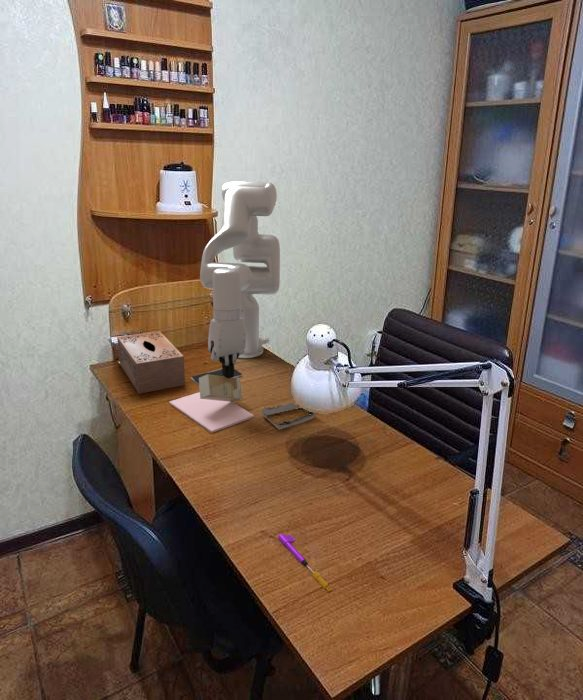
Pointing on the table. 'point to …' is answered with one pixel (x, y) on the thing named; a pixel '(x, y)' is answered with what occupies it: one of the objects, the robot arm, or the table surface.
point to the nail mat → (211, 412)
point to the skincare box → (220, 388)
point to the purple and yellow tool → (301, 558)
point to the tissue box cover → (151, 361)
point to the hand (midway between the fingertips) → (228, 376)
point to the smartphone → (216, 372)
